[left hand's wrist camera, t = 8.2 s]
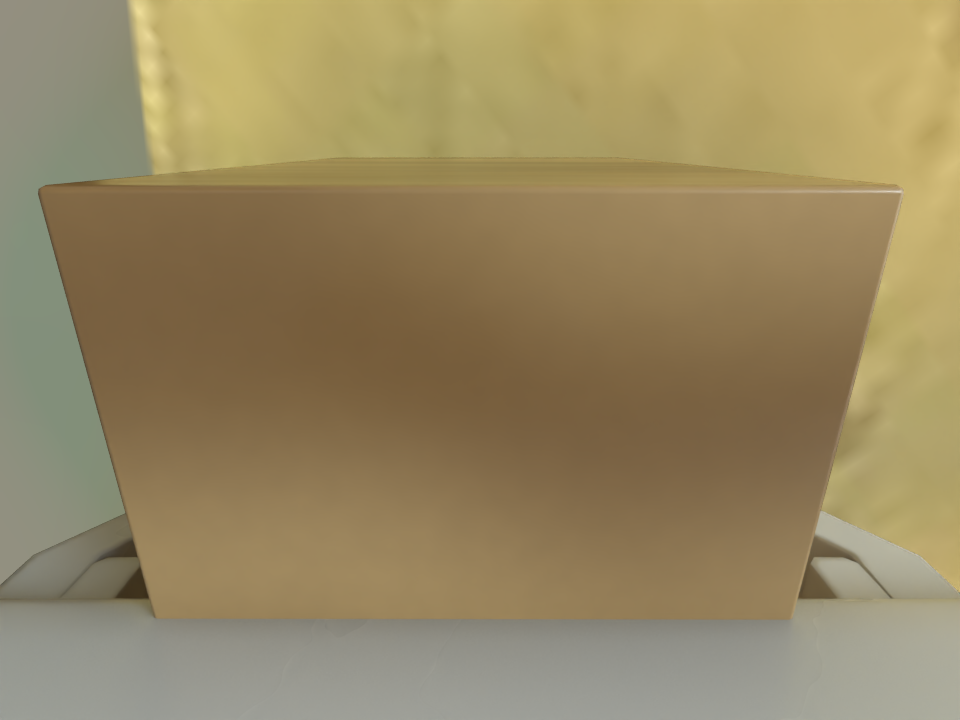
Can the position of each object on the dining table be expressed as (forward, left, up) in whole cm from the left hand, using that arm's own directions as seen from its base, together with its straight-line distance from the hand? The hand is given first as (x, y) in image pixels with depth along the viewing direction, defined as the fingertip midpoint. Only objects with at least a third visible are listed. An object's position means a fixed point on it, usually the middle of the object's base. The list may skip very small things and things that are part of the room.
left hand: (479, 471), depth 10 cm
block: (+16, +28, -3) cm, 32 cm away
